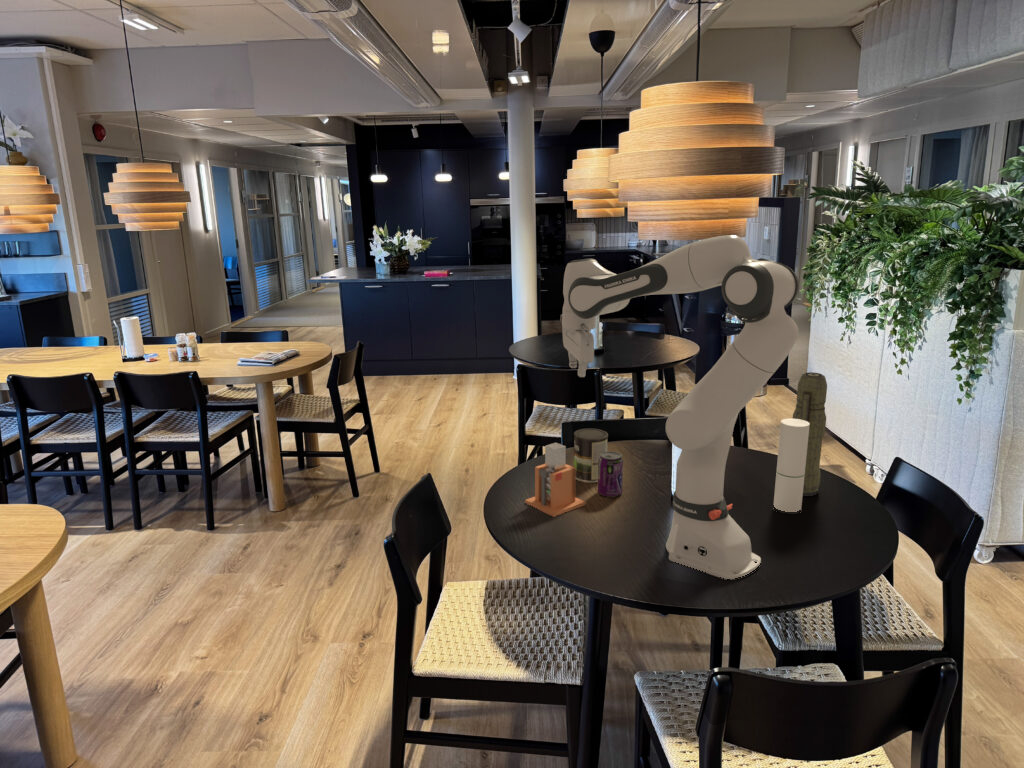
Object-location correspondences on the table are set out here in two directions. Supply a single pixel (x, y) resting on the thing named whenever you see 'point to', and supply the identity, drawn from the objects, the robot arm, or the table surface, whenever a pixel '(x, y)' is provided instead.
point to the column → (554, 462)
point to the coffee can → (588, 453)
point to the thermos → (812, 423)
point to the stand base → (555, 491)
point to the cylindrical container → (791, 464)
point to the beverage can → (610, 474)
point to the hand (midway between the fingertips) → (577, 371)
